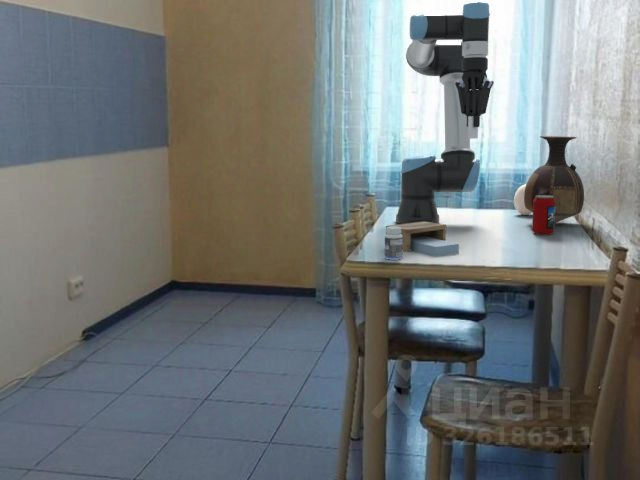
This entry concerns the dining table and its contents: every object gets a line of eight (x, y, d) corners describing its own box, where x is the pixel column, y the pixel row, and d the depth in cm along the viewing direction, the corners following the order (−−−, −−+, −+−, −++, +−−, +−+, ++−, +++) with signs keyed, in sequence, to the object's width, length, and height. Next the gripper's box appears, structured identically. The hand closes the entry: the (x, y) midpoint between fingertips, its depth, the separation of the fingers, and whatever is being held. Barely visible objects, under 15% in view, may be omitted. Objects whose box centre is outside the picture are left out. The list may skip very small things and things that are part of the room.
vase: (546, 230, 245) (550, 137, 240) (507, 223, 263) (510, 135, 258) (599, 225, 255) (604, 135, 250) (559, 218, 272) (562, 134, 267)
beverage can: (555, 235, 236) (556, 197, 234) (532, 235, 237) (534, 197, 235) (553, 232, 242) (554, 194, 240) (531, 231, 244) (532, 194, 242)
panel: (403, 249, 218) (403, 239, 217) (425, 246, 222) (425, 236, 221) (435, 257, 205) (435, 246, 204) (458, 254, 209) (458, 243, 208)
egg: (535, 217, 277) (536, 185, 275) (511, 215, 281) (512, 184, 279) (539, 214, 285) (540, 183, 283) (515, 212, 288) (516, 182, 286)
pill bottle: (383, 257, 204) (383, 226, 202) (400, 256, 204) (400, 225, 203) (386, 260, 199) (386, 228, 198) (403, 260, 200) (404, 228, 198)
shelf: (385, 247, 218) (386, 226, 217) (423, 241, 227) (423, 221, 226) (407, 251, 211) (407, 229, 210) (445, 245, 220) (445, 224, 219)
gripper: (449, 58, 225) (447, 138, 229) (483, 55, 215) (481, 139, 219) (466, 58, 229) (464, 137, 233) (500, 56, 219) (498, 138, 223)
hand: (472, 138), depth 226 cm, fingers closed
